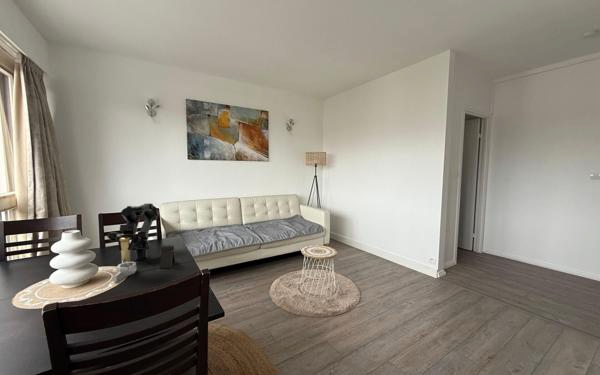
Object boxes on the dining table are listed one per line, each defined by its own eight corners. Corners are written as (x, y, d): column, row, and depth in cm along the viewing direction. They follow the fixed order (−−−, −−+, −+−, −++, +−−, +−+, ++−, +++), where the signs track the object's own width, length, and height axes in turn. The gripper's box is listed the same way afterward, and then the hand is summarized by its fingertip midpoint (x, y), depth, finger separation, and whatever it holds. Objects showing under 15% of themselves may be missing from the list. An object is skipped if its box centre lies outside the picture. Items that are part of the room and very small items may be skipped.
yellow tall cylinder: (124, 259, 139) (122, 236, 137) (133, 258, 139) (132, 236, 138) (119, 262, 134) (117, 239, 132) (128, 262, 135) (127, 239, 133)
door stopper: (170, 268, 144) (170, 248, 143) (159, 268, 144) (158, 248, 142) (176, 261, 153) (175, 243, 152) (165, 262, 152) (165, 243, 151)
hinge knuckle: (123, 266, 145) (122, 258, 145) (139, 264, 148) (139, 257, 148) (111, 282, 127) (111, 273, 126) (130, 279, 130) (130, 271, 129)
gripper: (107, 218, 136) (97, 244, 126) (145, 217, 140) (138, 242, 130) (115, 228, 144) (107, 253, 135) (151, 227, 148) (145, 251, 139)
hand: (124, 250), depth 135 cm, fingers closed on yellow tall cylinder, 4 cm apart
